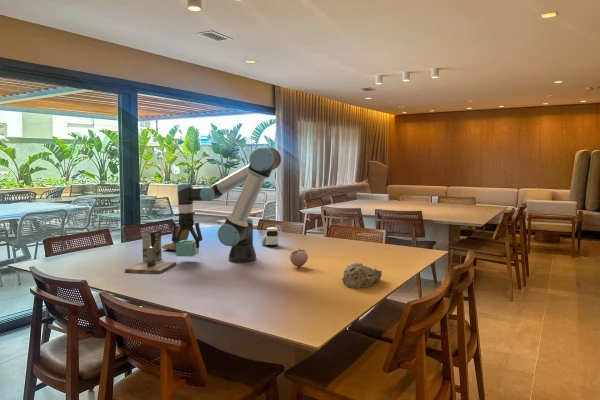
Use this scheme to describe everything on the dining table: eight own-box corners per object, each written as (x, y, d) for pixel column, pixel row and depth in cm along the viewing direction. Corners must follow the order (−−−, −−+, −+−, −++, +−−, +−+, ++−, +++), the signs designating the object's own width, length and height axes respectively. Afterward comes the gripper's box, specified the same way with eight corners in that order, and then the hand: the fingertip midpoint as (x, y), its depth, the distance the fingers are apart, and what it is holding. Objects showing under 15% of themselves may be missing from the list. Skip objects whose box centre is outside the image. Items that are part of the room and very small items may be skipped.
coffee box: (153, 262, 225) (152, 232, 224) (142, 261, 227) (141, 232, 225) (162, 258, 234) (161, 230, 233) (151, 258, 235) (150, 229, 234)
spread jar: (277, 247, 267) (277, 229, 266) (259, 247, 267) (259, 229, 266) (278, 244, 279) (278, 226, 278) (261, 243, 279) (261, 226, 278)
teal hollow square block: (198, 252, 230) (198, 240, 230) (192, 256, 221) (192, 243, 221) (183, 252, 231) (182, 240, 231) (176, 256, 222) (175, 243, 222)
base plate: (176, 264, 220) (176, 261, 220) (160, 273, 202) (160, 270, 202) (143, 263, 223) (143, 260, 222) (125, 272, 205) (125, 269, 205)
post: (157, 267, 214) (156, 246, 213) (153, 269, 210) (152, 247, 209) (149, 267, 215) (149, 245, 214) (145, 269, 211) (145, 247, 210)
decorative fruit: (299, 264, 221) (299, 245, 220) (310, 267, 216) (310, 247, 215) (286, 267, 215) (286, 248, 214) (297, 270, 209) (297, 250, 208)
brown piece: (194, 249, 261) (193, 225, 260) (181, 252, 250) (180, 227, 249) (174, 247, 267) (174, 223, 266) (161, 250, 256) (160, 226, 255)
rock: (353, 277, 200) (358, 257, 199) (381, 289, 193) (387, 268, 192) (334, 283, 183) (340, 261, 182) (364, 296, 176) (371, 273, 174)
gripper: (207, 211, 227) (209, 252, 229) (169, 211, 230) (171, 252, 231) (202, 212, 219) (204, 255, 221) (163, 213, 222) (165, 255, 224)
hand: (187, 254), depth 226 cm, fingers closed on teal hollow square block, 9 cm apart
